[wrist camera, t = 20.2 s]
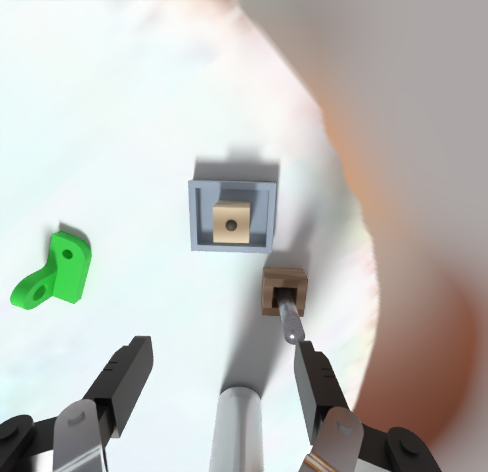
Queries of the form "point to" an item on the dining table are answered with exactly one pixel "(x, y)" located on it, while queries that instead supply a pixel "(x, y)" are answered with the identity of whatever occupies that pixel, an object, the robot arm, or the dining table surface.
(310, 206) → the dining table surface
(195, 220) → the tray
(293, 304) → the rod
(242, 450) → the robot arm
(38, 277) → the mechanical part
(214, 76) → the dining table surface
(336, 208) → the dining table surface
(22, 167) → the dining table surface
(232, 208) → the block
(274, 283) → the wooden square socket
